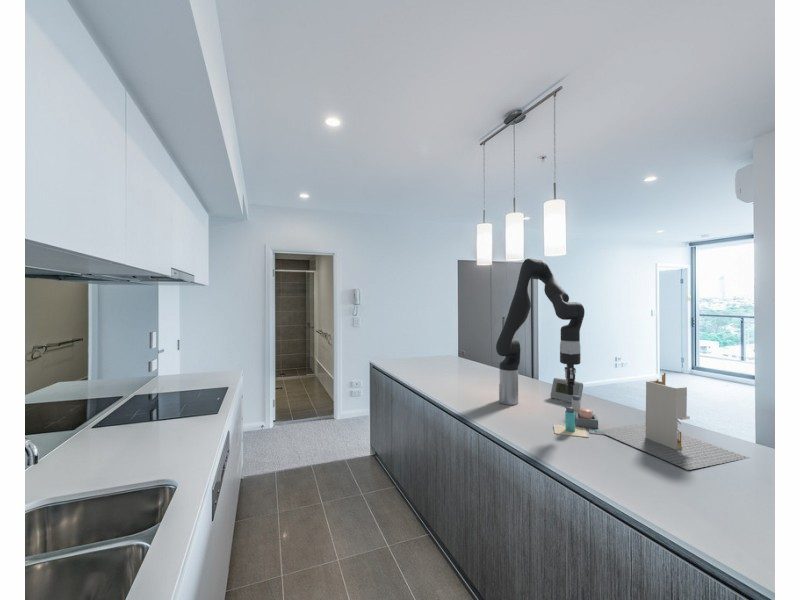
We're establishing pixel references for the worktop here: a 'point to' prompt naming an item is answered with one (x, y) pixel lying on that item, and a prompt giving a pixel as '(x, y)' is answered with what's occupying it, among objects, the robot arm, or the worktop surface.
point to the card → (593, 431)
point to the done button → (586, 413)
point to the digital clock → (565, 390)
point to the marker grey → (576, 403)
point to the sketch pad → (578, 432)
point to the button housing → (586, 421)
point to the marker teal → (570, 419)
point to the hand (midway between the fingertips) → (570, 394)
